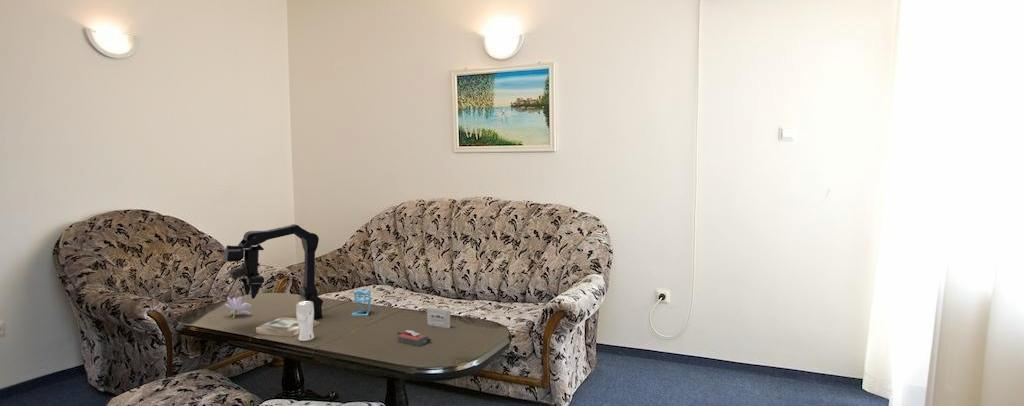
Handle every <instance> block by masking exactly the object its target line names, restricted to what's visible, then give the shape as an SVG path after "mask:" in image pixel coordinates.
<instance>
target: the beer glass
mask: <svg viewBox="0 0 1024 406" xmlns="http://www.w3.org/2000/svg"><path fill="white" fill-rule="evenodd" d="M295 304H296V305H295V313H296V314H295V317H296V319H297V322H298V327H299V334H298V338H297V339H298V340H299V341H301V342H307V341H308V342H309V341H312V340H313V339H314V338H315V335H314V330H313V329H314V327H313V321H314V320H315V319H314V306H313V302H312V301H304V300H301V301H298V302H296V303H295Z"/></svg>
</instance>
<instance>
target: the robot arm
mask: <svg viewBox="0 0 1024 406" xmlns="http://www.w3.org/2000/svg"><path fill="white" fill-rule="evenodd" d="M291 235H295V237H296V236H297V238H299V239H300V241H301V244H302V249H303V252H304V265H303V266H304V267H303V268H304V269H303V270H304V272H303V274H304V276H303V277H304V278H303V279H304V280H303V285H302V286H299V294H298V295H299V296H300V298H301V301H312V302H313V306H314V320H317V319H323V318H324V316H323V308H322V306H323V304H324V300H323V299H322V298H320V297H319V293H318V289H317V286H316V284H315V283H316V281H315V275H316V272H315V270H316V269H315V268H316V251H317V248H318V245H319V241H320V239H319V236H318V235H317V234H316V233H313V232H309V231H307V230H306V229H304V228H302V227H301V226H300V225H298V224H294V223H292V224H290V225H286V226H282V227H276V228H272V229H268V230H267V229H266V230H249V231H246V232H245V233H244V234H243V238H242V239H241V241H240V242H239V243H238V245H229V244H228V245H226V246H225V250H224V253H223V255H224V256H223V257H224V262H225V263H227V262H229V263H230V262H233V263H234V262H241V261H242V260H243V262H242V263H241V266H239V267H236V268H233V269H230V270H229V271H228V274H229V275H230V279H232V280H236V279H238V280H239V281H240V282H241V283H242V286H243V289H244V293H245V295H247V296H248V295H249V294H250V296H251V297H250V298H251V299H252V300H253V299H255V298H256V297H257V295H258V293H259V290H260V289H261V288H262V286H263V285H264V283H265V277H263V276H262V275H261V274H260V272H259V267H260V266H261V265H260V264H261V263H260V262H259V256H260V253H259V252H260V251H264V250H265V248H264V247H262V246H261V244H263V243H265V242H266V241H268V240H273V239H277V238H281V237H286V236H291Z"/></svg>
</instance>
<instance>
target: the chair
mask: <svg viewBox="0 0 1024 406" xmlns="http://www.w3.org/2000/svg"><path fill="white" fill-rule="evenodd" d="M367 294H368V295H367ZM353 295H354V300H353V301H352V302H353V303H357V304H358V305H359V307H360V308H361V310H358V311H355V312H352V313H351V316H352V317H353V316H354V317H369V314H370V312H371V311H370V309H371V302H372V300H373V299H372V297H371V290H369V289H365V290H362V289H356V290H355V289H354V292H353ZM357 295H358V296H357ZM362 295H363V297H362ZM362 303H363V304H365V303H366V304H367V309H366V311H365V308H364V306H363V304H362ZM364 312H366V313H364Z"/></svg>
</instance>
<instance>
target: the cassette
mask: <svg viewBox="0 0 1024 406" xmlns="http://www.w3.org/2000/svg"><path fill="white" fill-rule="evenodd" d="M426 314H427V315H426V316H427V317H426V318H427V323H426V324H427V325H429V326H434V327H440V328H444V329H445V328H447V329H450V328H451V310H450V309H443V308H438V307H431V306H428V307H426ZM438 316H439V317H438Z"/></svg>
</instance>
